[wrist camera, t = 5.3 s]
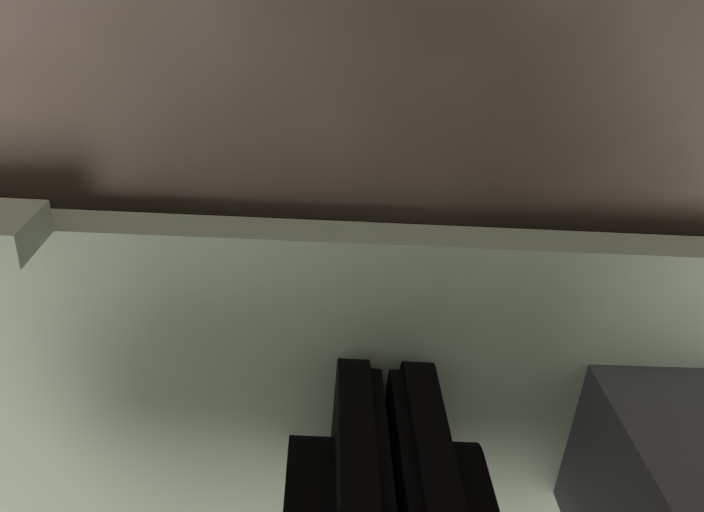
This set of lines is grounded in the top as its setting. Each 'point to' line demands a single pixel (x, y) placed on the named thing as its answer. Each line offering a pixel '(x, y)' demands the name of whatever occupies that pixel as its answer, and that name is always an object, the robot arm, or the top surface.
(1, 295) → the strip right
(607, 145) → the top surface
